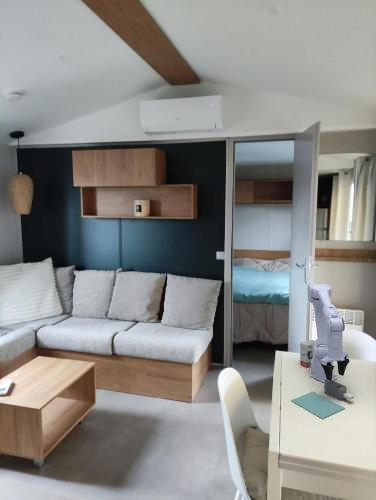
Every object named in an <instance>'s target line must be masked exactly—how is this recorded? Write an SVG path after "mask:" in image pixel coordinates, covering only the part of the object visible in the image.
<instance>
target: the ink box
mask: <svg viewBox="0 0 376 500" xmlns="http://www.w3.org/2000/svg"><path fill="white" fill-rule="evenodd" d="M314 341H315V340H314V339H309V340H306V341H305V340H304V341H301V342H300V343H299V344H300V345H299V348H300V350H299V351H300V352H299V353H300V354H299V355H300V356H299V361H300V366H302V367H304V368H306V369H309V368H311V360H312V358H313V354H312V344H313V342H314ZM317 346H320V345H317Z"/></svg>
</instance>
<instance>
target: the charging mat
mask: <svg viewBox="0 0 376 500" xmlns="http://www.w3.org/2000/svg"><path fill="white" fill-rule="evenodd" d="M290 401H291V402H292V403H293V404H296V405H297V406H298V407H300V408H302V409H303V410H305V411H307V412H308V413H311V414H312V415H314V416H316V417H318V418H319V419H321V420H324V419H326V418H329V417H331V416H334V415H335V414H337V413H339V412H342V411H345V410H346V407H345V406H342V405H341V404H338V403H336V402H335V401H333V400H330V399H329V398H326V397H325V396H323V395H321V394H319V393H316V392H315V391H310V392H308V393H305V394H303V395H301V396H298V397H296V398H292V399H291V400H290Z"/></svg>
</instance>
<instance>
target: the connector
mask: <svg viewBox="0 0 376 500" xmlns="http://www.w3.org/2000/svg"><path fill="white" fill-rule="evenodd" d="M323 384H324V385H323V387H324V389H323V393H324V394H325V395H327V396H329V397H331V398H334V399H336V400H338V401H341V402H346V401H347V400H348V401H351V400H354V399H355V396H354V394H352V393H350V392H347V389H348V388H347V386H346V385H344V384H341V383H339V382H337V381H335V380H331V381H330V380H328V379H326V380H324V382H323Z"/></svg>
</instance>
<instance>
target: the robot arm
mask: <svg viewBox="0 0 376 500" xmlns="http://www.w3.org/2000/svg"><path fill="white" fill-rule="evenodd" d="M332 289H333V288H332V286H331V284H330V283H309V284H308V285H307V296H308V301H309V303H311V304H312V305H313V306H312V307H313V311H314V318H315V327H316V337H317V338H316V339H315V340H314V342H313V344H312V354H313V358H312V360H311V367H310V374H309V377H311V378H313V379H316V380H318V381H320V382H322V383H324V380H326V379H328V380H330V381H331V380H333V381H335V380H338V377H336V376H334V374H333V373H334V369H335V365H334V362H336V365H337V372H338V375H339V376H344V375H345V372H346V369H347V366H348V365H349V363H350V360H351V359H349V352H347V351H343V350H344V349H343V332H344V331H345V330H346V324H345V320H344V318H343V317H342V316H341V315H340V314H339V311H338V310H337V307H336V306H335V305H334V304H332V301H331V296H332V293H333V291H332ZM317 345H319V346H317Z"/></svg>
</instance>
